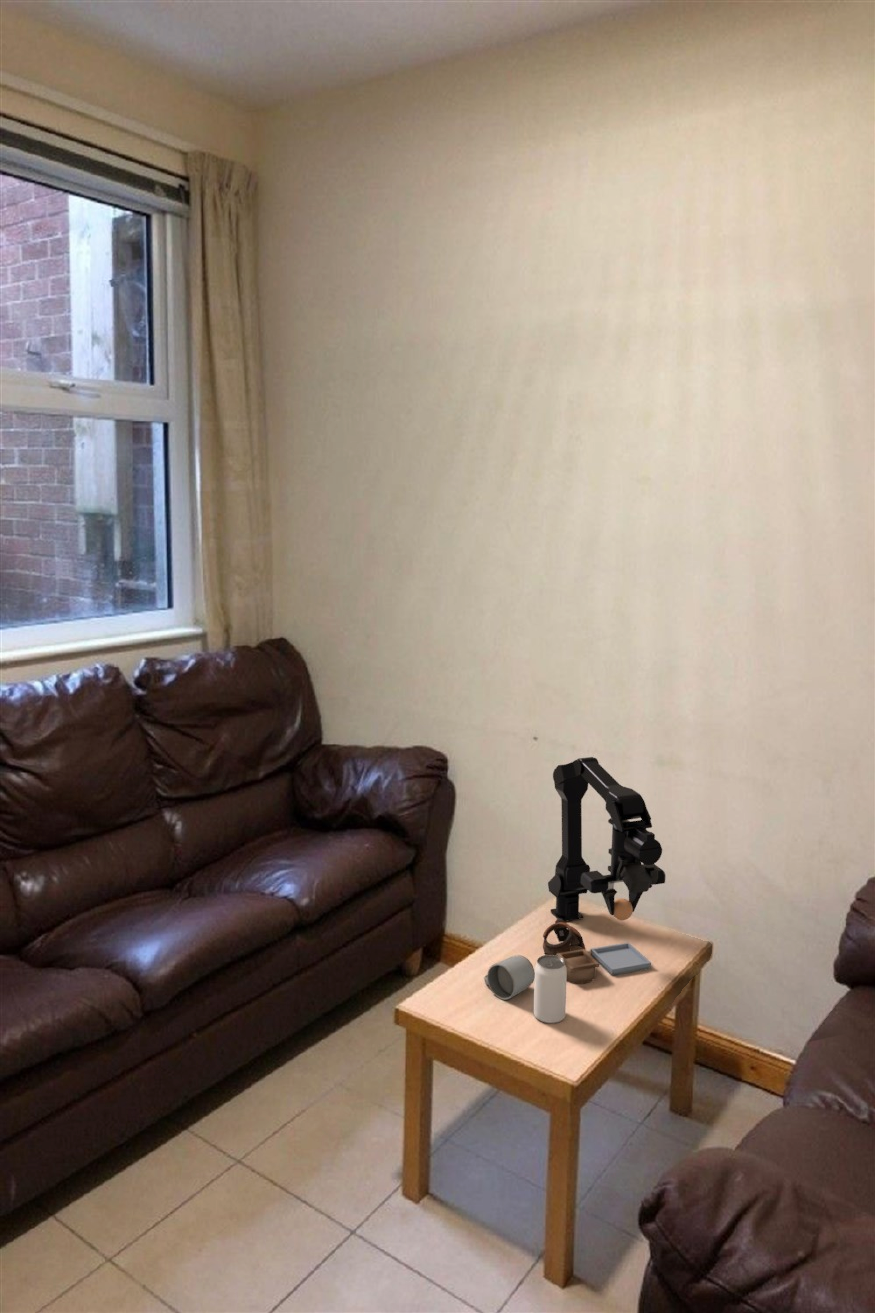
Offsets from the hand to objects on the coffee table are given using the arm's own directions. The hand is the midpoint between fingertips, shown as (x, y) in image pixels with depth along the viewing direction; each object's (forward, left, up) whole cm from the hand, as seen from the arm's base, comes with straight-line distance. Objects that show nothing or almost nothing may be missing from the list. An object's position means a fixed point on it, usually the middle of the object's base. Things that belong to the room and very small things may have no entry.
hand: (621, 913), depth 211 cm
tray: (0, 0, -12) cm, 12 cm away
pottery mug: (-8, -10, -12) cm, 18 cm away
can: (+15, -25, -12) cm, 32 cm away
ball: (0, 0, +1) cm, 1 cm away
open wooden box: (+2, -12, -12) cm, 17 cm away
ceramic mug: (+3, -29, -12) cm, 32 cm away
